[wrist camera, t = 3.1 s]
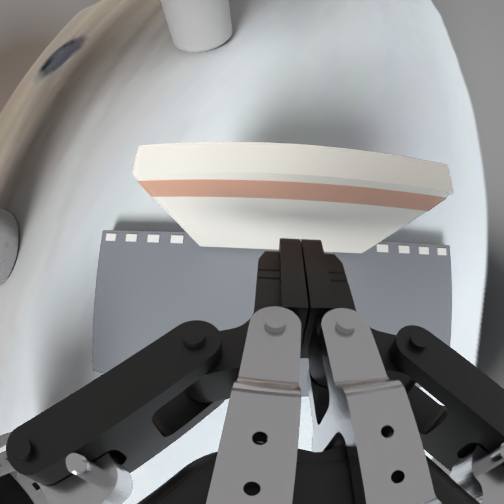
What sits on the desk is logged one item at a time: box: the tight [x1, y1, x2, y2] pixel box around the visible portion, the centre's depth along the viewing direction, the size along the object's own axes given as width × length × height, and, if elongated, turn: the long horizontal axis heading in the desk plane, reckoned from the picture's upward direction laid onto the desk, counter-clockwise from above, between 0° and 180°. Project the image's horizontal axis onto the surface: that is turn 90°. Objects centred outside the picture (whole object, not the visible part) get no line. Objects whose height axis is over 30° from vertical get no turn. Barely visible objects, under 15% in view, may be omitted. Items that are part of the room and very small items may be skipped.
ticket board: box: [93, 230, 452, 396], centre depth 21 cm, size 30×12×2 cm, turn 87°
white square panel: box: [132, 142, 453, 253], centre depth 15 cm, size 12×1×12 cm, turn 87°
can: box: [160, 0, 233, 53], centre depth 23 cm, size 8×8×12 cm
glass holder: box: [0, 432, 49, 504], centre depth 13 cm, size 9×14×15 cm, turn 152°
